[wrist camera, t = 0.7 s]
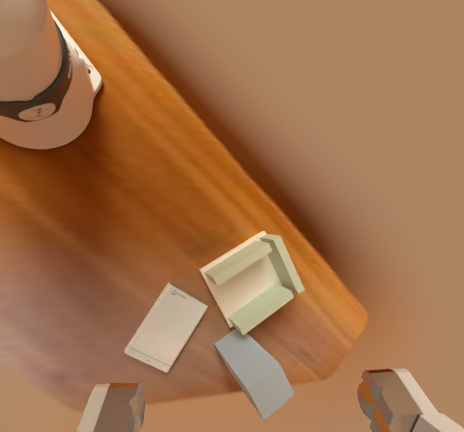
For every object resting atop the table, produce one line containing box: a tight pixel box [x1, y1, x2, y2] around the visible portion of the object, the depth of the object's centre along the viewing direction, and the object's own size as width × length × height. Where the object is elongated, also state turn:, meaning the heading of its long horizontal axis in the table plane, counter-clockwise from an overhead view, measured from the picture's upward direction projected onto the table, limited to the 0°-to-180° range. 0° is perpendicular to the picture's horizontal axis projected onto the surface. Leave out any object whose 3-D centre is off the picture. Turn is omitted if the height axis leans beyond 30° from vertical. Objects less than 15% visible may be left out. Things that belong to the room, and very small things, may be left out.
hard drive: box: [124, 283, 208, 373], centre depth 47 cm, size 2×8×12 cm
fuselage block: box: [214, 328, 295, 421], centre depth 45 cm, size 6×6×14 cm
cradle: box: [199, 231, 305, 335], centre depth 49 cm, size 12×14×6 cm
